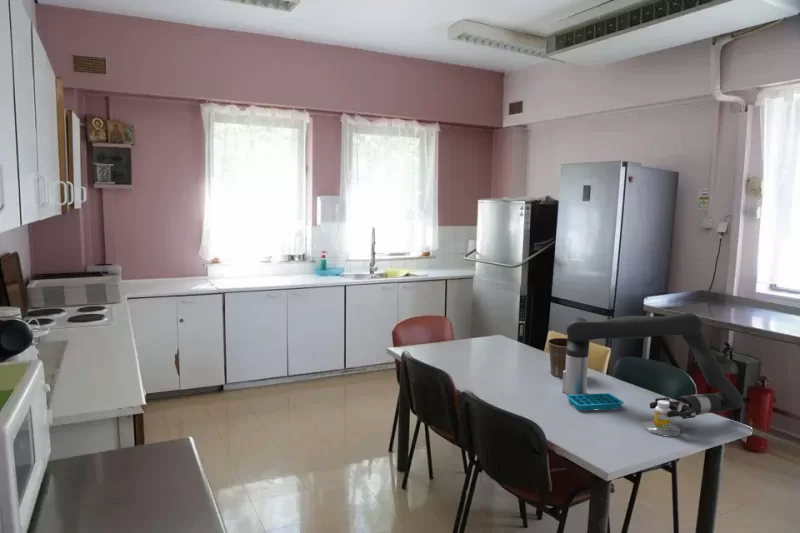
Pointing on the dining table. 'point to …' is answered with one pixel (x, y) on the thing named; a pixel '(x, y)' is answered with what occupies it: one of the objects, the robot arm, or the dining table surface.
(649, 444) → the dining table surface
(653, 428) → the coaster
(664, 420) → the supplement bottle
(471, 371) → the dining table surface
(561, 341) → the plant pot
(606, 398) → the ice cube tray
